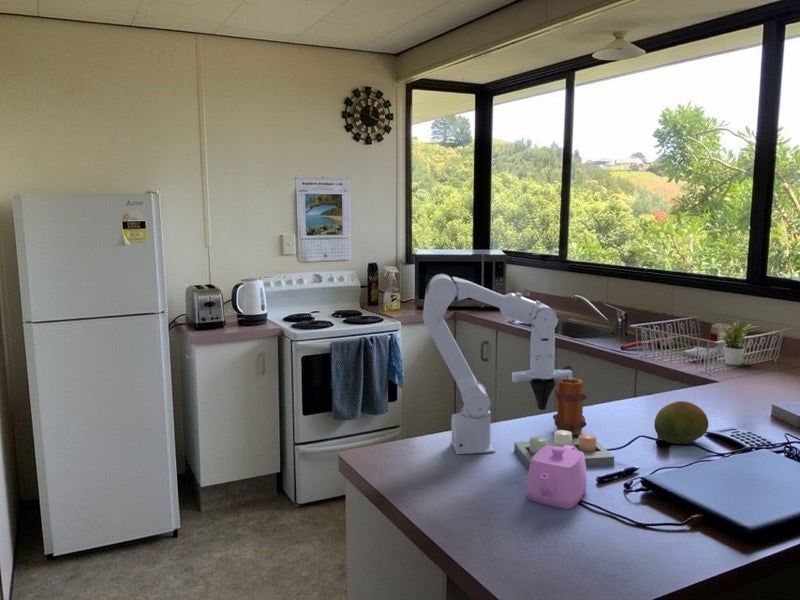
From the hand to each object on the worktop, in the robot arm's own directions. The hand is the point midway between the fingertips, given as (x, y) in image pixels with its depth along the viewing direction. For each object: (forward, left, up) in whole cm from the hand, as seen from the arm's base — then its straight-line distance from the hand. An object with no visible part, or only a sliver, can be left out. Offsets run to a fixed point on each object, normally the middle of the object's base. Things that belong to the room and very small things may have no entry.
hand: (541, 408), depth 157 cm
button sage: (-3, -7, -10) cm, 12 cm away
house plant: (+96, +67, -10) cm, 118 cm away
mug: (+11, +11, -10) cm, 19 cm away
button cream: (+3, -7, -8) cm, 11 cm away
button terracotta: (+9, -7, -9) cm, 15 cm away
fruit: (+35, -2, -10) cm, 37 cm away
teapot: (-5, -26, -10) cm, 28 cm away
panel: (+3, -7, -10) cm, 12 cm away
